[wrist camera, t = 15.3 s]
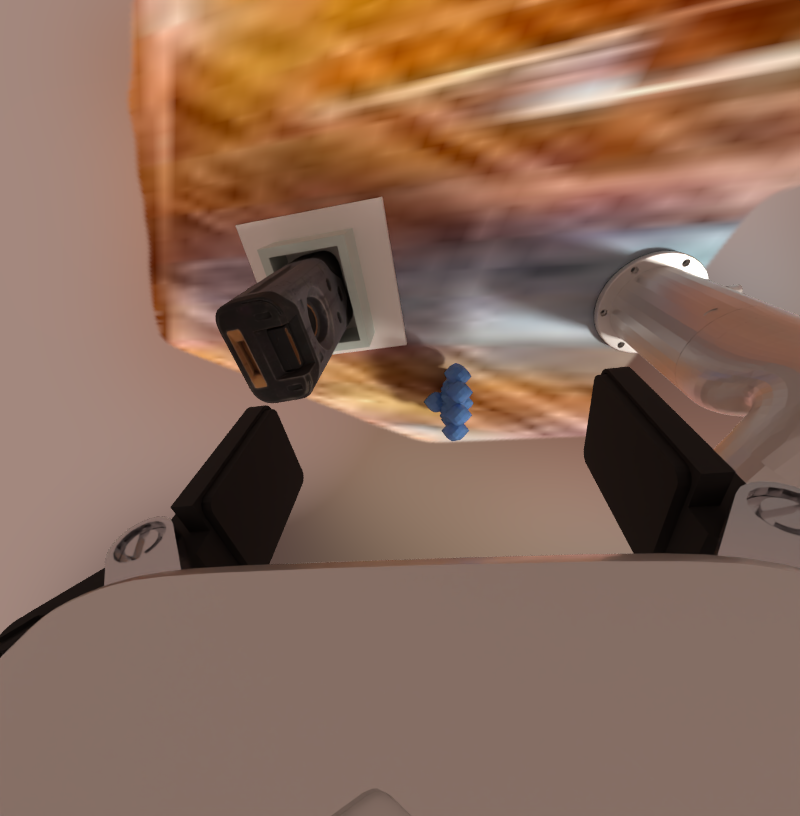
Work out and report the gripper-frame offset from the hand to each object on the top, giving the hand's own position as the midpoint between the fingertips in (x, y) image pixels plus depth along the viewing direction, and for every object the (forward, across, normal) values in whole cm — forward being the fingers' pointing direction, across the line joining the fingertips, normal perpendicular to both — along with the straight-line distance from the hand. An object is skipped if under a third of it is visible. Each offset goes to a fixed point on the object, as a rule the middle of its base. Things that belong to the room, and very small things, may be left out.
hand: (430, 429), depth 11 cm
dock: (+38, +14, +4) cm, 41 cm away
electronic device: (+38, +14, +4) cm, 40 cm away
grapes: (+38, 0, +20) cm, 43 cm away
